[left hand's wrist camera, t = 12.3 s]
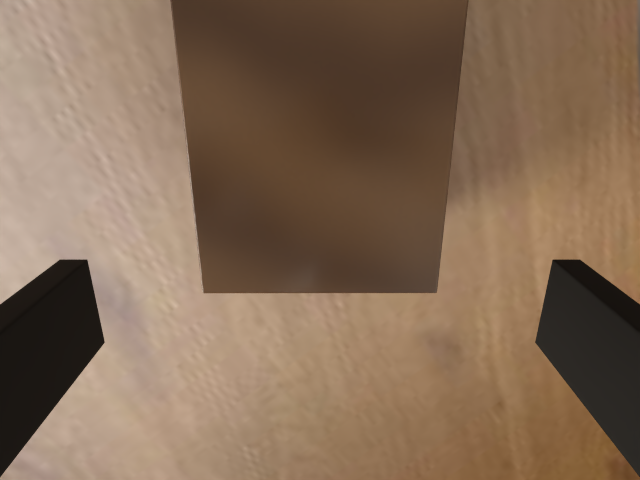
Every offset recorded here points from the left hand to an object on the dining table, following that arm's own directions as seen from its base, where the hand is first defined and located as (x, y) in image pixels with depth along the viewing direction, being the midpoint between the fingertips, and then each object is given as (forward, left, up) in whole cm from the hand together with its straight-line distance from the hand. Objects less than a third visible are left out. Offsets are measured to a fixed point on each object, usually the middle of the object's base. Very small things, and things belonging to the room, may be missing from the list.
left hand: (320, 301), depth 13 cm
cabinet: (+7, -1, -16) cm, 18 cm away
